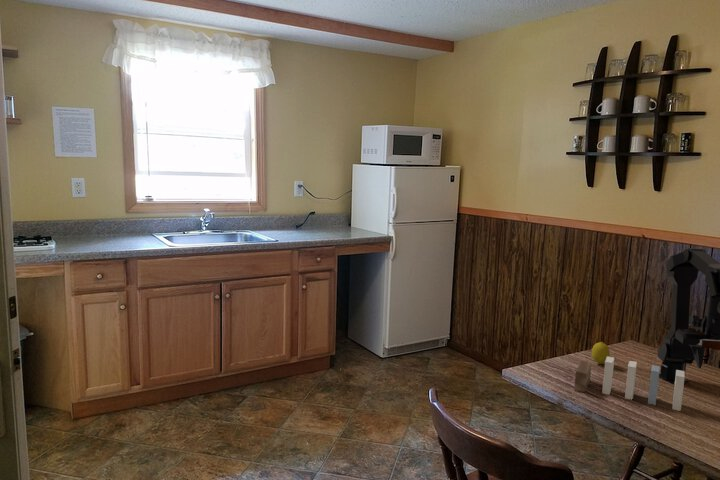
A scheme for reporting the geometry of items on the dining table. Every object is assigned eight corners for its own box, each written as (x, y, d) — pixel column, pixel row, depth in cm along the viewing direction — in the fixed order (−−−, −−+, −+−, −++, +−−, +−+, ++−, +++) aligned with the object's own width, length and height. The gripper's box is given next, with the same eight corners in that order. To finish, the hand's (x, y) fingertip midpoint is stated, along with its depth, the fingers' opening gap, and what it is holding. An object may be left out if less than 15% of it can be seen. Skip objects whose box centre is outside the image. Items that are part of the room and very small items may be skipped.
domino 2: (633, 393, 154) (636, 362, 152) (632, 400, 150) (635, 367, 148) (626, 392, 155) (629, 360, 153) (624, 398, 151) (627, 366, 149)
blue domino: (656, 398, 151) (659, 366, 149) (655, 405, 147) (659, 372, 145) (648, 396, 152) (651, 364, 150) (647, 403, 148) (651, 370, 146)
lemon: (611, 367, 174) (613, 345, 172) (594, 367, 174) (597, 344, 173) (603, 361, 179) (606, 339, 178) (588, 360, 179) (589, 339, 178)
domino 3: (680, 404, 148) (684, 371, 146) (680, 411, 143) (684, 377, 142) (672, 402, 149) (676, 369, 147) (672, 409, 144) (676, 375, 143)
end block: (589, 380, 162) (591, 362, 162) (584, 392, 154) (586, 373, 153) (579, 378, 164) (581, 360, 163) (574, 390, 156) (575, 371, 155)
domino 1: (611, 388, 157) (614, 357, 156) (609, 394, 153) (612, 363, 151) (604, 387, 158) (607, 356, 157) (602, 393, 154) (605, 361, 152)
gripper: (742, 308, 144) (735, 360, 146) (670, 303, 147) (664, 355, 150) (765, 319, 133) (757, 376, 136) (687, 314, 137) (680, 370, 139)
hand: (713, 368), depth 140 cm, fingers open, 7 cm apart
